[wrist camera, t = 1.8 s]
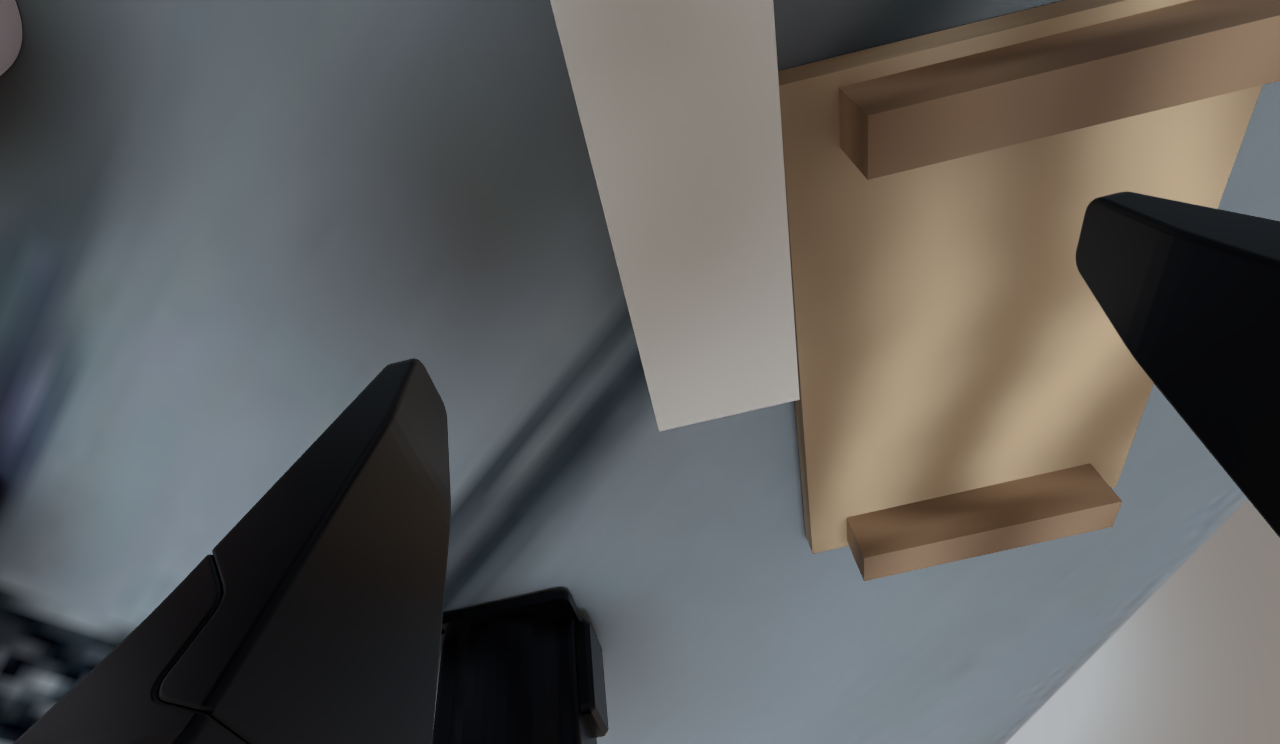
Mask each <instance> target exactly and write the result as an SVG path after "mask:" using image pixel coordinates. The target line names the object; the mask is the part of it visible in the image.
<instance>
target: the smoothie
mask: <svg viewBox="0 0 1280 744" xmlns="http://www.w3.org/2000/svg"><path fill="white" fill-rule="evenodd" d="M21 43H22V23H21V18H20V13H19V10H18V7H17V4H16V1H15V0H0V76H1V75H2V74H3V73H4V72H5V71H6V70H7V69H8V68H9V67H10V66H11V65H12V64H13V63H14V61H15V60H16V58H17V56H18V54H19V51H20V48H21Z"/></svg>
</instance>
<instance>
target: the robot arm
mask: <svg viewBox="0 0 1280 744" xmlns="http://www.w3.org/2000/svg"><path fill="white" fill-rule="evenodd" d="M1076 265H1077V268H1078V271H1079V273H1080V275H1081V276H1082V278H1083V279H1084V281H1085V282H1086V284H1087V286H1088V287H1089V289H1090V290H1091V292H1092V294H1093V295H1094V297H1095V298H1096V300H1097V301H1098V303H1099V305H1100V306H1101V308H1102V309H1103V311H1104V312H1105V314H1106V316H1107V317H1108V319H1109V320H1110V322H1111V324H1112V325H1113V327H1114V328H1115V330H1116V331H1117V333H1118V335H1119V336H1120V338H1121V339H1122V341H1123V343H1124V344H1125V346H1126V347H1127V348H1128V350H1129V351H1130V353H1131V354H1132V356H1133V357H1134V359H1135V360H1136V361H1137V363H1138V364H1139V365H1140V366H1141V368H1142V369H1143V370H1144V372H1145V373H1146V374H1147V375H1148V377H1149V378H1150V379H1151V380H1152V382H1153V383H1154V384H1155V385H1156V386H1157V388H1158V389H1159V390H1160V391H1161V393H1162V394H1163V395H1164V396H1165V398H1166V399H1167V400H1168V401H1169V402H1170V404H1171V405H1172V406H1173V407H1174V409H1175V410H1176V411H1177V412H1178V413H1179V415H1180V416H1181V417H1182V418H1183V420H1184V421H1185V422H1186V423H1187V425H1188V426H1189V427H1190V428H1191V429H1192V431H1193V432H1194V433H1195V434H1196V436H1197V437H1198V438H1199V439H1200V440H1201V442H1202V443H1203V444H1204V445H1205V447H1206V448H1207V449H1208V450H1209V452H1210V453H1211V454H1212V455H1213V456H1214V458H1215V459H1216V460H1217V461H1218V463H1219V464H1220V465H1221V466H1222V467H1223V469H1224V470H1225V471H1226V472H1227V474H1228V475H1229V476H1230V477H1231V479H1232V480H1233V481H1234V482H1235V483H1236V485H1237V486H1238V487H1239V488H1240V490H1241V491H1242V492H1243V493H1244V495H1245V496H1246V497H1247V498H1248V499H1249V501H1250V502H1251V503H1252V504H1253V506H1254V507H1255V508H1256V509H1257V510H1258V512H1259V513H1260V514H1261V515H1262V517H1263V518H1264V519H1265V520H1266V521H1267V523H1268V524H1269V525H1270V526H1271V528H1272V529H1273V530H1274V531H1275V533H1276V534H1277V535H1278V536H1279V537H1280V221H1275V220H1270V219H1265V218H1260V217H1255V216H1250V215H1245V214H1240V213H1235V212H1230V211H1225V210H1220V209H1215V208H1210V207H1205V206H1200V205H1194V204H1189V203H1184V202H1179V201H1174V200H1169V199H1164V198H1159V197H1154V196H1149V195H1144V194H1139V193H1134V192H1119V193H1115V194H1111V195H1106V196H1102V197H1098V198H1095V199H1094V200H1092V201H1091V202H1090V203H1089V205H1088V206H1087V208H1086V211H1085V215H1084V219H1083V224H1082V228H1081V232H1080V237H1079V241H1078V245H1077V249H1076ZM450 518H451V496H450V474H449V451H448V429H447V415H446V410H445V406H444V403H443V401H442V399H441V397H440V395H439V393H438V391H437V389H436V387H435V386H434V384H433V382H432V380H431V378H430V376H429V374H428V372H427V370H426V368H425V367H424V365H423V364H422V363H421V362H420V361H419V360H417V359H409V360H405V361H401V362H396V363H392V364H389V365H387V366H386V367H385V368H384V369H383V370H382V371H381V372H380V373H379V374H378V375H377V376H376V377H375V379H374V380H373V381H372V382H371V383H370V384H369V385H368V386H367V387H366V388H365V389H364V390H363V391H362V392H361V393H360V394H359V395H358V397H357V398H356V399H355V400H354V401H353V402H352V403H351V404H350V405H349V406H348V407H347V408H346V409H345V410H344V411H343V412H342V413H341V415H340V416H339V417H338V418H337V419H336V420H335V421H334V422H333V423H332V424H331V425H330V426H329V427H328V428H327V429H326V430H325V431H324V433H323V434H322V435H321V436H320V437H319V438H318V439H317V440H316V441H315V442H314V443H313V444H312V445H311V446H310V447H309V448H308V449H307V450H306V452H305V453H304V454H303V455H302V456H301V457H300V458H299V459H298V460H297V461H296V462H295V463H294V464H293V465H292V466H291V467H290V468H289V470H288V471H287V472H286V473H285V474H284V475H283V476H282V477H281V478H280V479H279V480H278V481H277V482H276V483H275V484H274V485H273V486H272V487H271V489H270V490H269V491H268V492H267V493H266V494H265V495H264V496H263V497H262V498H261V499H260V500H259V501H258V502H257V503H256V504H255V505H254V507H253V508H252V509H251V510H250V511H249V512H248V513H247V514H246V515H245V516H244V517H243V518H242V519H241V520H240V521H239V522H238V523H237V524H236V526H235V527H234V528H233V529H232V530H231V531H230V532H229V533H228V534H227V535H226V536H225V537H224V538H223V539H222V540H221V541H220V542H219V543H218V545H217V546H216V547H215V548H214V549H213V551H212V553H213V555H207V556H206V557H205V558H204V559H203V560H202V561H201V562H200V563H199V565H198V566H197V567H196V568H195V569H194V570H193V571H192V572H191V573H190V574H189V575H188V576H187V577H186V578H185V579H184V580H183V581H182V582H181V583H180V584H179V586H178V587H177V588H176V589H175V590H174V591H173V592H172V593H171V594H170V595H169V596H168V597H167V598H166V599H165V600H164V601H163V602H162V603H161V604H160V605H159V606H158V607H157V608H156V609H155V610H154V611H153V612H152V613H151V614H150V615H149V616H148V617H147V618H146V619H145V620H144V621H143V622H142V623H141V624H140V625H139V626H138V627H137V628H136V629H135V630H134V631H132V632H131V633H130V634H129V635H128V636H127V637H126V638H125V639H124V640H123V641H122V642H121V643H120V644H119V645H118V646H117V647H116V648H115V649H114V650H113V651H112V652H111V653H109V654H108V655H107V656H106V657H105V658H104V659H103V660H102V661H101V662H100V663H99V664H98V665H97V666H96V667H95V668H94V669H92V670H91V671H90V672H89V673H88V674H87V675H86V676H85V677H84V678H83V679H82V680H81V681H80V682H79V683H77V684H76V685H75V686H74V687H73V688H72V689H71V690H70V691H69V692H68V693H67V694H66V695H65V696H64V697H62V698H61V699H60V700H59V701H58V702H57V703H56V704H55V705H54V706H53V707H52V708H51V709H50V710H49V711H48V712H46V713H45V714H44V715H43V716H42V717H41V718H40V719H39V720H38V721H37V722H36V723H35V724H34V725H33V726H31V727H30V728H29V729H28V730H27V731H26V732H25V733H24V734H23V735H22V736H21V737H20V738H19V739H18V740H16V741H15V742H14V743H13V744H597V740H596V738H597V737H602V736H605V734H606V733H607V731H608V717H607V705H606V693H605V681H604V668H603V656H602V648H601V646H600V644H599V641H598V639H597V637H596V635H595V633H594V631H593V629H592V627H591V624H590V623H589V622H587V621H586V620H582V619H581V616H580V614H579V612H578V610H577V608H576V606H575V604H574V602H573V600H572V598H571V596H570V594H569V593H568V592H566V591H561V590H560V591H553V592H549V593H544V594H540V595H535V596H531V597H526V598H522V599H517V600H513V601H508V602H504V603H499V604H495V605H490V606H486V607H481V608H477V609H472V610H468V611H463V612H459V613H454V614H450V615H445V616H443V606H444V594H445V582H446V570H447V558H448V546H449V534H450ZM440 650H441V651H442V652H441V662H440V672H439V681H438V691H437V700H436V690H437V678H438V666H439V654H440ZM435 702H436V710H435ZM434 714H435V719H434ZM433 726H434V729H433ZM432 738H433V739H432Z"/></svg>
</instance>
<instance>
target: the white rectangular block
mask: <svg viewBox="0 0 1280 744" xmlns="http://www.w3.org/2000/svg"><path fill="white" fill-rule="evenodd" d="M550 2H551V6H552V10H553V14H554V18H555V22H556V26H557V30H558V33H559V37H560V41H561V45H562V49H563V53H564V57H565V61H566V65H567V69H568V73H569V77H570V81H571V85H572V89H573V93H574V97H575V101H576V105H577V109H578V113H579V116H580V120H581V124H582V128H583V132H584V136H585V140H586V144H587V148H588V152H589V156H590V160H591V164H592V168H593V172H594V176H595V180H596V184H597V188H598V192H599V195H600V199H601V203H602V207H603V211H604V215H605V219H606V223H607V227H608V231H609V235H610V239H611V243H612V247H613V251H614V255H615V259H616V263H617V267H618V271H619V274H620V278H621V282H622V286H623V290H624V294H625V298H626V302H627V306H628V310H629V314H630V318H631V322H632V326H633V330H634V334H635V338H636V342H637V346H638V350H639V354H640V357H641V361H642V365H643V369H644V373H645V377H646V381H647V385H648V389H649V393H650V397H651V401H652V405H653V409H654V413H655V417H656V421H657V425H658V429H659V432H660V431H664V430H668V429H673V428H677V427H682V426H686V425H690V424H695V423H699V422H704V421H708V420H712V419H717V418H721V417H726V416H730V415H734V414H739V413H743V412H748V411H752V410H756V409H761V408H765V407H770V406H774V405H778V404H783V403H787V402H792V401H796V400H800V398H799V383H798V368H797V353H796V338H795V322H794V307H793V292H792V277H791V262H790V247H789V232H788V217H787V202H786V186H785V171H784V156H783V141H782V126H781V111H780V96H779V81H778V66H777V50H776V35H775V20H774V5H773V0H550Z"/></svg>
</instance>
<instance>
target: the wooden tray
mask: <svg viewBox="0 0 1280 744" xmlns="http://www.w3.org/2000/svg"><path fill="white" fill-rule="evenodd" d="M778 81H779V96H780V111H781V126H782V141H783V156H784V171H785V186H786V202H787V217H788V232H789V247H790V262H791V277H792V292H793V307H794V322H795V338H796V353H797V368H798V383H799V398H800V400H796V401H795V408H796V420H797V433H798V445H799V458H800V470H801V482H802V495H803V507H804V520H805V532H806V537H807V540H808V542H809V545H810V548H811V551H812V553H813V554H814V553H818V552H823V551H827V550H832V549H836V548H841V547H845V546H850V549H851V551H852V554H853V556H854V558H855V561H856V563H857V565H858V568H859V570H860V573H861V575H862V577H863V580H864V581H866V580H871V579H876V578H880V577H885V576H889V575H894V574H898V573H903V572H908V571H912V570H917V569H921V568H926V567H930V566H935V565H940V564H944V563H949V562H953V561H958V560H962V559H967V558H971V557H976V556H981V555H985V554H990V553H994V552H999V551H1003V550H1008V549H1013V548H1017V547H1022V546H1026V545H1031V544H1035V543H1040V542H1045V541H1049V540H1054V539H1058V538H1063V537H1067V536H1072V535H1076V534H1081V533H1086V532H1090V531H1095V530H1099V529H1104V528H1108V527H1113V524H1114V521H1115V519H1116V516H1117V513H1118V511H1119V508H1120V506H1121V503H1122V501H1121V499H1120V498H1119V497H1118V496H1117V495H1116V493H1115V492H1114V491H1113V490H1112V489H1111V488H1112V487H1116V485H1117V482H1118V480H1119V477H1120V474H1121V471H1122V469H1123V466H1124V463H1125V460H1126V458H1127V455H1128V452H1129V450H1130V447H1131V444H1132V441H1133V439H1134V436H1135V433H1136V430H1137V428H1138V425H1139V422H1140V419H1141V417H1142V414H1143V411H1144V408H1145V406H1146V403H1147V400H1148V397H1149V395H1150V392H1151V389H1152V387H1153V384H1154V383H1153V382H1152V380H1151V379H1150V378H1149V377H1148V375H1147V374H1146V373H1145V372H1144V370H1143V369H1142V368H1141V366H1140V365H1139V364H1138V363H1137V361H1136V360H1135V359H1134V357H1133V356H1132V354H1131V353H1130V351H1129V350H1128V348H1127V347H1126V346H1125V344H1124V343H1123V341H1122V339H1121V338H1120V336H1119V335H1118V333H1117V331H1116V330H1115V328H1114V327H1113V325H1112V324H1111V322H1110V320H1109V319H1108V317H1107V316H1106V314H1105V312H1104V311H1103V309H1102V308H1101V306H1100V305H1099V303H1098V301H1097V300H1096V298H1095V297H1094V295H1093V294H1092V292H1091V290H1090V289H1089V287H1088V286H1087V284H1086V282H1085V281H1084V279H1083V278H1082V276H1081V275H1080V273H1079V271H1078V268H1077V265H1076V249H1077V245H1078V241H1079V237H1080V232H1081V228H1082V224H1083V219H1084V215H1085V211H1086V208H1087V206H1088V205H1089V203H1090V202H1091V201H1092V200H1094V199H1095V198H1098V197H1102V196H1106V195H1111V194H1115V193H1119V192H1134V193H1139V194H1144V195H1149V196H1154V197H1159V198H1164V199H1169V200H1174V201H1179V202H1184V203H1189V204H1194V205H1200V206H1205V207H1210V208H1215V209H1218V206H1219V203H1220V200H1221V198H1222V195H1223V192H1224V189H1225V187H1226V184H1227V181H1228V179H1229V176H1230V173H1231V170H1232V168H1233V165H1234V162H1235V159H1236V157H1237V154H1238V151H1239V148H1240V146H1241V143H1242V140H1243V137H1244V135H1245V132H1246V129H1247V126H1248V124H1249V121H1250V118H1251V116H1252V113H1253V110H1254V107H1255V105H1256V102H1257V99H1258V96H1259V94H1260V91H1261V88H1262V85H1264V84H1268V83H1273V82H1277V81H1280V0H1063V1H1059V2H1055V3H1051V4H1047V5H1043V6H1039V7H1035V8H1031V9H1027V10H1023V11H1019V12H1015V13H1011V14H1007V15H1003V16H999V17H995V18H991V19H986V20H982V21H978V22H974V23H970V24H966V25H962V26H958V27H954V28H950V29H946V30H942V31H938V32H934V33H930V34H926V35H922V36H918V37H914V38H910V39H906V40H902V41H898V42H894V43H890V44H886V45H882V46H878V47H873V48H869V49H865V50H861V51H857V52H853V53H849V54H845V55H841V56H837V57H833V58H829V59H825V60H821V61H817V62H813V63H809V64H805V65H801V66H797V67H793V68H789V69H785V70H781V71H778Z"/></svg>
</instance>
